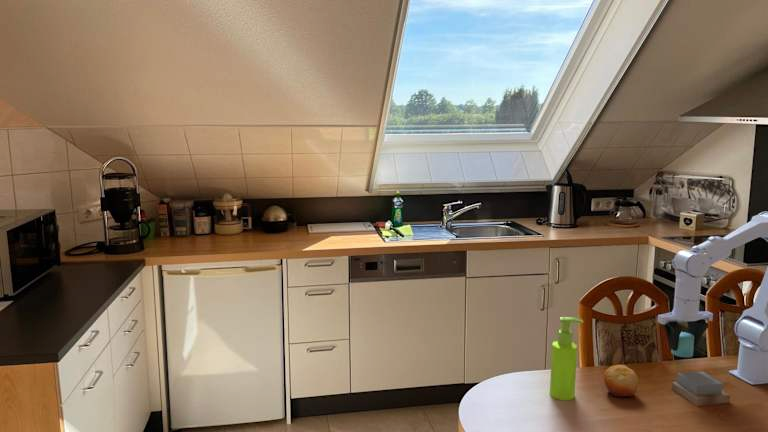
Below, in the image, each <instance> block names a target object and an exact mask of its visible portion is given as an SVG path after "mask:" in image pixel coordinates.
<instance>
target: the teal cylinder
mask: <svg viewBox="0 0 768 432" xmlns="http://www.w3.org/2000/svg"><path fill="white" fill-rule="evenodd" d="M693 348H694V335H692V334H690V333H689V332H686V331H681V333H680V336H679V341H678V348H677V351H674V350H672V349H671V354H672V355H674V356H676V357H681V358H692V357H693V356H694V349H693Z"/></svg>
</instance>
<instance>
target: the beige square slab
mask: <svg viewBox="0 0 768 432" xmlns="http://www.w3.org/2000/svg"><path fill="white" fill-rule="evenodd" d="M671 390H672V391H673V392H675V393H676V394H678V395H680V396H681V397H683V398H684V399H686V400H687V401H689V402H690V403H692V404H694V405H695V406H697V407H699V406H708V405H709V406H710V405H716V404H724V403H725V404H727V403H730V399H731V394H729V393H728V392H725V391H724V390H722V393H719V394H707V395H695V394H693V393H692V392H690V391H689V390H687V389H686V388H684V387H683V386H681V385H680V384H678V383H677V381H672V382H671Z"/></svg>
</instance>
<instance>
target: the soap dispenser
mask: <svg viewBox="0 0 768 432" xmlns="http://www.w3.org/2000/svg"><path fill="white" fill-rule="evenodd" d="M559 320H560V322H561V328H560V329H558V332H557V340H555V341H553V342H552V344H551V362H550V363H551V364H550V383H549V395H550V396H551V397H552V398H554V399H556V400H559V401H572V400H573V399H574V398H575V391H576V378H577V375H576V373H577V357H578V345H577V344H576V343H574V342H573V337H574V336H573V330H571V329H570V323H578V324H583V323H584V320H583V319H582V318H579V317H575V316H572V317H571V316H560V317H559Z"/></svg>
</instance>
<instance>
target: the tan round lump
mask: <svg viewBox="0 0 768 432" xmlns="http://www.w3.org/2000/svg"><path fill="white" fill-rule="evenodd" d="M603 381H604V382H603V383H604V385H605V387H606V389H607V390H608V391H609V392H610V394H611V395H612V396H614V397H620V398H621V397H631V396H633V395H634V394H636V393H637V390H638V387H639V381H640V380H639V377H638V376H637V373H636V372H635V370H633V369H631V368H630V367H629V366H627V365H625V364H614V365H612V366H609V367H608V368H607V369H606V370H605V371H604V373H603Z"/></svg>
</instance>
